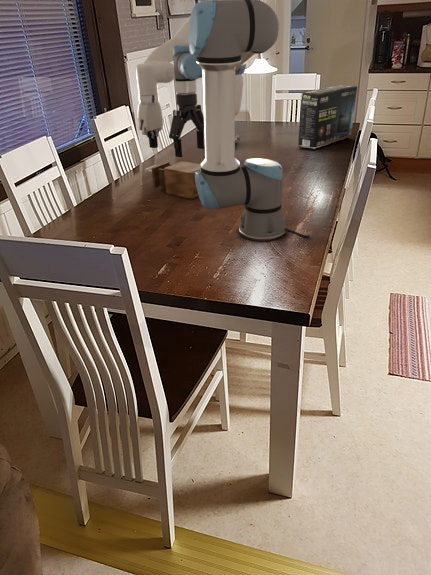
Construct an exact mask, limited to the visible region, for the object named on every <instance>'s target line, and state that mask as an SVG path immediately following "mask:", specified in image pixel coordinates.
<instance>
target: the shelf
mask: <svg viewBox="0 0 431 575" xmlns="http://www.w3.org/2000/svg"><path fill="white" fill-rule="evenodd" d="M171 165H173V163H170V161H165V162H162V163H161V164H158V165H156V164H154V165H151V166H148V167H146V168H144V170H143V171H144V173H145V174H146V173H151V176H152V186H153V188H155V189H157V188H159V187H160V188H164V189H166V185H165V174H164V168H166V167H168V166H171Z"/></svg>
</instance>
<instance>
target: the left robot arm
mask: <svg viewBox="0 0 431 575" xmlns="http://www.w3.org/2000/svg"><path fill="white" fill-rule="evenodd" d="M189 21H190V16H188V17H187V19H186V20H185V21H184V23H183V24H182V25H181V26H180V28H179V29H178V30H177V32H176V33H175V34H174V35H173V37H172V38H170V39H168V40H167V41H165V42H164V43H162V44H161V45H159V46H158V47H156V48H155V49H154V50H153V51H152V52H151V53H150V54H149V55H148V56H147V58H146V59H145V60H144V61H143V63H138V64H136V66H135V75H136V84H137V92H138V102H139V103H138V105H137V125H138V130H139V131H141V135H142V136H143V135H144V136H146V138H148V143H149V144H148V145H149V148H151V149H157V148H159V143H158V137H159V133H160V132H161V131H163V126H164V118H163V112H162V106H161V102H160V98H159V97H160V95H159V87H158V86H159V85H158V84H169V83H171V82H173V81H174V80H175V73H174V63H173V62H174V61H173V47H174V46H176V45H189V42H188V31H189ZM244 78H245V77H244V73H243V74H241V75H235V117H236V116H237V115H238V114H239V113H240V110H241V107H242V102H243V101H242V99H243V92H244V91H243V90H244V83H245V82H244V81H245V80H244Z"/></svg>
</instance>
